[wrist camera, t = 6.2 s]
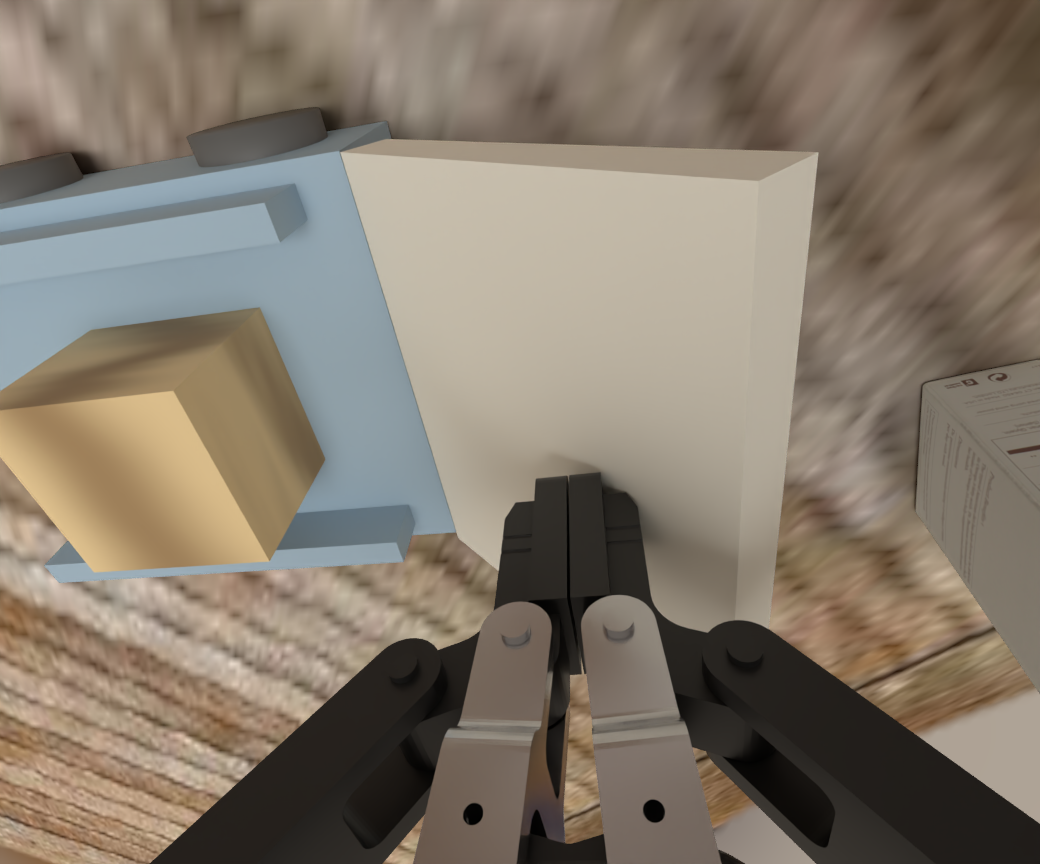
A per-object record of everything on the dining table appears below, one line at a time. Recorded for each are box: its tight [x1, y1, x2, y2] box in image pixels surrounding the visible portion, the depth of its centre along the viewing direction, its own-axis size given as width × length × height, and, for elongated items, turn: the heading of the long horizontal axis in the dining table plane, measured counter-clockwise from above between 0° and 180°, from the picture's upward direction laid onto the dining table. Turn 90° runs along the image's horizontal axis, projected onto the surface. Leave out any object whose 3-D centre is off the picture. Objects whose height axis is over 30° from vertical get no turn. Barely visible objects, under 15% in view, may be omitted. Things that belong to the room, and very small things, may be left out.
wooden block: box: [0, 307, 326, 573], centre depth 19 cm, size 6×6×5 cm
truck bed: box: [0, 107, 456, 583], centre depth 22 cm, size 16×16×7 cm
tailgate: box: [340, 139, 818, 633], centre depth 16 cm, size 1×14×12 cm
